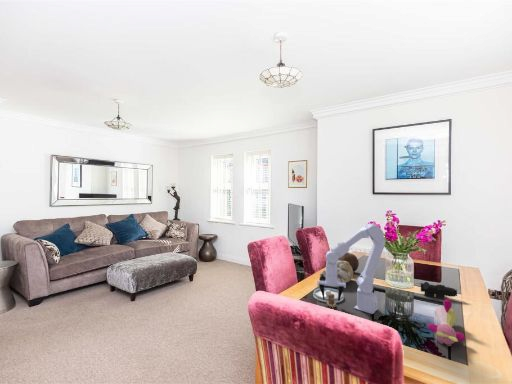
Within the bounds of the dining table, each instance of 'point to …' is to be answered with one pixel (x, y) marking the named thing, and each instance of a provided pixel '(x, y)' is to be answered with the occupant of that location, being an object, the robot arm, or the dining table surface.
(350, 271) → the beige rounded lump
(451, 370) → the dining table surface
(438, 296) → the night vision scope
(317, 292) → the carrier plate
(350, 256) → the wooden sphere
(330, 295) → the gear
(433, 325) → the toy
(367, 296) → the robot arm
